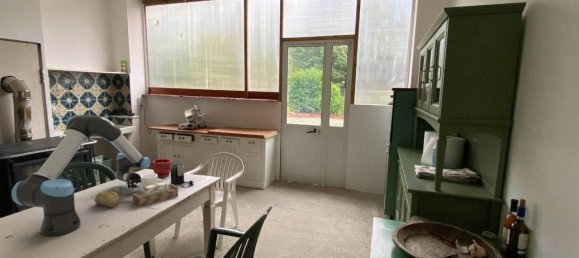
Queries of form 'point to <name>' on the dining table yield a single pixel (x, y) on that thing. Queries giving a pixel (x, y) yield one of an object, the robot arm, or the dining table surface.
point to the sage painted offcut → (155, 192)
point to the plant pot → (162, 167)
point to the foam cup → (148, 179)
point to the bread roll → (107, 199)
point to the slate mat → (130, 190)
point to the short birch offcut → (155, 187)
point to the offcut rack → (155, 197)
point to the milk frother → (178, 173)
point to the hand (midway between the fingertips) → (151, 184)
